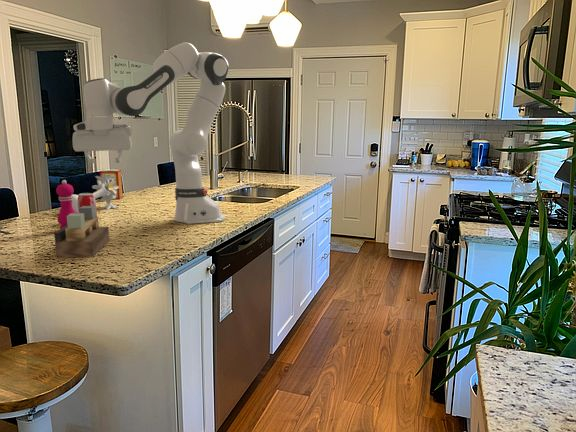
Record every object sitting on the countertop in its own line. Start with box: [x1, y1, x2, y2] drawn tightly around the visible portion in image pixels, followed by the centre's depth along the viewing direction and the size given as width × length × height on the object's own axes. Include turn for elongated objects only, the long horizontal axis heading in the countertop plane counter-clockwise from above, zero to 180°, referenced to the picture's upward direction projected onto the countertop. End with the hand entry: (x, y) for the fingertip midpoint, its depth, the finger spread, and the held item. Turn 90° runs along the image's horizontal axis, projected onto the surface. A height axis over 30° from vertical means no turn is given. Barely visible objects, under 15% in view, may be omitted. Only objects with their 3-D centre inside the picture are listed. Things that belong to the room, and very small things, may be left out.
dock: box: [53, 224, 110, 258], centre depth 148 cm, size 11×20×8 cm, turn 8°
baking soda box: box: [99, 169, 124, 201], centre depth 242 cm, size 10×6×16 cm
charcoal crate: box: [79, 206, 96, 220], centre depth 153 cm, size 4×4×4 cm
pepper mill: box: [55, 179, 76, 230], centre depth 171 cm, size 7×7×20 cm
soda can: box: [77, 192, 98, 217], centre depth 187 cm, size 7×7×12 cm
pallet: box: [65, 216, 100, 241], centre depth 147 cm, size 5×18×4 cm, turn 8°
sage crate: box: [67, 213, 85, 228], centre depth 140 cm, size 4×4×4 cm
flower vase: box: [72, 174, 119, 213], centre depth 209 cm, size 13×18×25 cm
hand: (105, 163), depth 162 cm, fingers open, 8 cm apart
